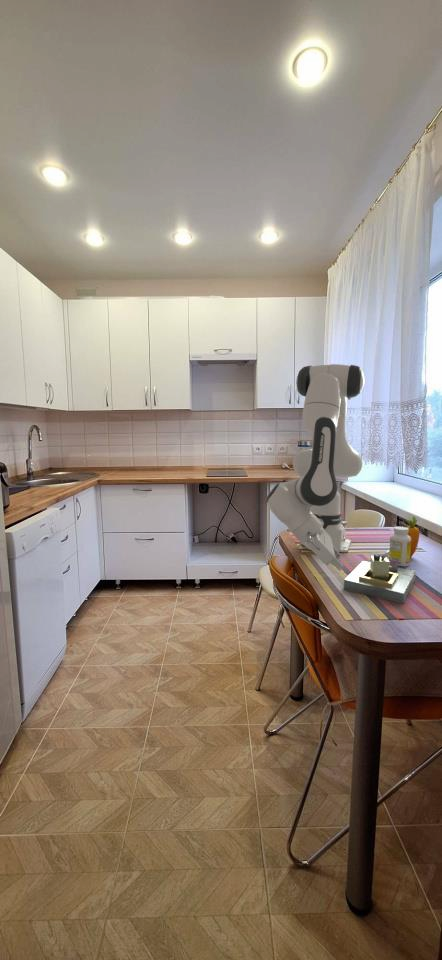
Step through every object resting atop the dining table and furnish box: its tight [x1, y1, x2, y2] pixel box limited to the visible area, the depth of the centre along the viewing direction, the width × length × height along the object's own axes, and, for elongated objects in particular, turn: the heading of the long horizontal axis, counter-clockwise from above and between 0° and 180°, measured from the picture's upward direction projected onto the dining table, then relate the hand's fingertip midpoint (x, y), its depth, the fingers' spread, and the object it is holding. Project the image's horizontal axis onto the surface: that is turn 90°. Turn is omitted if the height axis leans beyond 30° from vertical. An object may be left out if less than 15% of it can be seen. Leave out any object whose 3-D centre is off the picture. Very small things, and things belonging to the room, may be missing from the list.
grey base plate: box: [343, 560, 417, 604], centre depth 116 cm, size 22×16×4 cm
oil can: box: [369, 550, 391, 581], centre depth 112 cm, size 4×5×12 cm
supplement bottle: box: [388, 526, 411, 567], centre depth 133 cm, size 7×7×13 cm
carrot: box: [405, 516, 421, 558], centre depth 139 cm, size 5×5×15 cm
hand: (340, 562), depth 114 cm, fingers open, 8 cm apart
